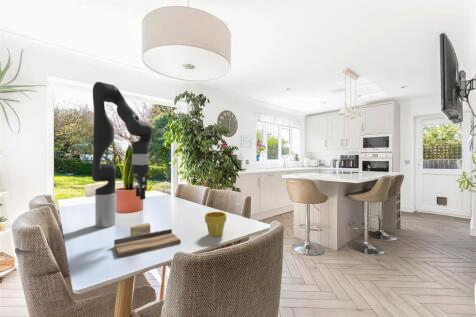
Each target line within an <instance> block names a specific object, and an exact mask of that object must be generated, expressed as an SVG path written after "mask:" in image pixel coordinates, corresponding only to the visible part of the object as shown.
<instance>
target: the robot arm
mask: <svg viewBox="0 0 476 317" xmlns="http://www.w3.org/2000/svg"><path fill="white" fill-rule="evenodd" d="M105 103H112V104H114V105H115V106H116V114H117V115H118V117H119V118H120V120H121V121H122V122H123V123H124V124H125V127H126V130H127V131H128V133H129V134H130V135H131V136H134V137H135V136H136V137H139V139H138V140H137V141H134V142H132V144H131V145H132V146H131V147H132V148H131V151H132V152H131V154H132V155H131V174H132V175H134V188H135V196H136V197H138V198H139V199H140V200H146V191H147V190H148V186H147V185H148V181H147V180H148V178H147V176H145V175H147V174H149V173H150V158H149V157H150V156H149V144H150V141H151V138H152V134H153V129H152V125H151V124H150V123H149V122H146V121H142V120H141V121H140V118H139V115H138V114H137V113H136V112H135V111H134V110H133V109H132V107H130V105H129V104H128V102H127V101H126V99H125V97H124V96H123V94H122V93H121V90H119V88H118V87H117V86H115V85H114V84H109V83H105V82H102V81H96V82H95V83H94V84H93V87H92V104H93V105H92V106H93V130H92V132H93V135H92V136H93V139H92V140H93V154H92V155H93V156H92V164H91V166H92V167H91V178H92V180H93V182H98V183H99V182H106V183H105V184H104V185H102V186H100V187H98V188H96V189H95V193H94V194H95V195H94V196H95V198H94V199H95V202H94V203H95V206H94V207H95V210H94V211H95V222H94V223H95V228H97V229H99V228H100V229H103V228H109V227H112V226H115V225H116V179H117V178H116V176H117V174H116V173H117V169H116V165H115V164H114V163H101V161H102V158H103V156H104V155H105V153H106V151H107V150H108V149H109V148H110V147H111V145H112V144H113V143H114V139H115V128H114V125H113V123H112V121H111V119H110V117H109V116H108V114H107V112H106V106H105Z"/></svg>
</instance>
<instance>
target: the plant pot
mask: <svg viewBox="0 0 476 317" xmlns="http://www.w3.org/2000/svg"><path fill="white" fill-rule="evenodd" d="M204 222H205V223H206V226H207V231H208V236H210V237H220V236H222V235H223V234H224V228H225V223H226V222H227V214H226V213H225V212H223V211H211V212H207V213H205V214H204Z"/></svg>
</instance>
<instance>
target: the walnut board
mask: <svg viewBox="0 0 476 317" xmlns="http://www.w3.org/2000/svg"><path fill="white" fill-rule="evenodd" d="M181 241H182V240H181V239H180V238H179V237H178V236H177V235H175V233H173V229H171V228H170V229H164V230H158V231H154V232H150V233H147V234H142V235H137V236H131V235H130V236H125V237H122V238H116V239H114V240H113V242H114V243H113V248H114V249H115V252H117V253H116V255H117V257H118V258H123V257H127V256H132V255H136V253H137V254H141V253H144V252H148V251H153V250H157V249H161V248H166V247H170V246H174V245H175V246H176V245H178V244H181V243H182V242H181ZM140 252H141V253H140Z"/></svg>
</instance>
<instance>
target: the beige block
mask: <svg viewBox="0 0 476 317" xmlns="http://www.w3.org/2000/svg"><path fill="white" fill-rule="evenodd" d="M147 233H151V224H150V223H149V222H144V223H139V224H134V225H130V237H131V236H137V235H142V234H147Z"/></svg>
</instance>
